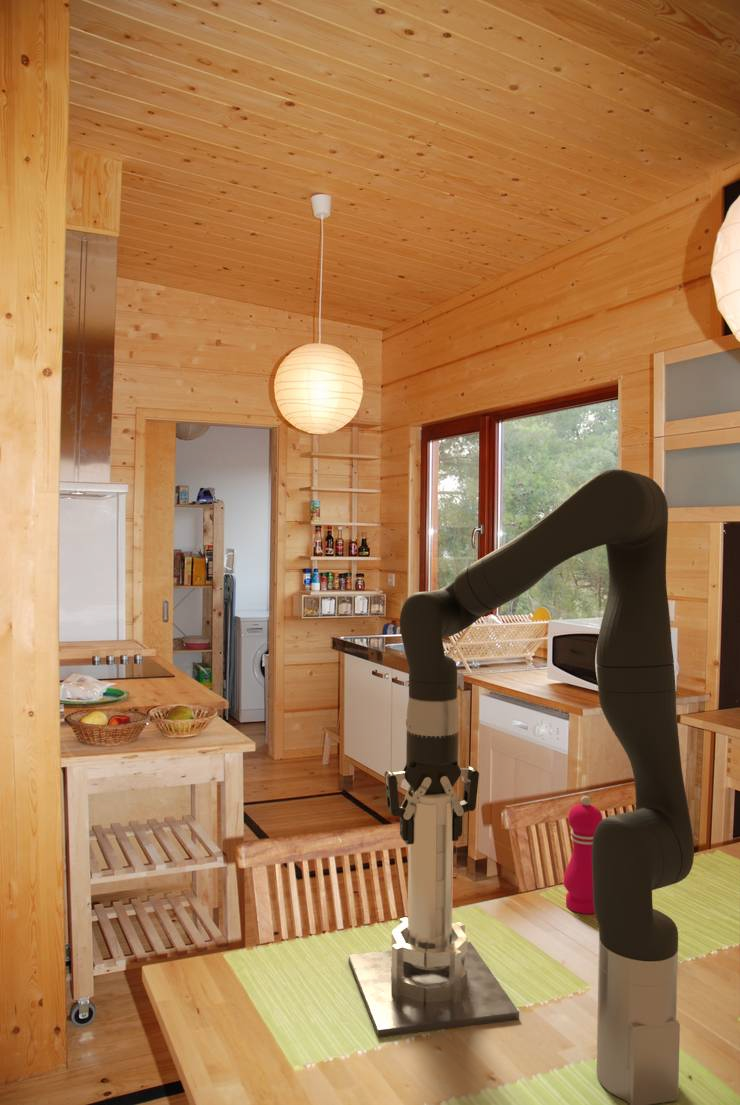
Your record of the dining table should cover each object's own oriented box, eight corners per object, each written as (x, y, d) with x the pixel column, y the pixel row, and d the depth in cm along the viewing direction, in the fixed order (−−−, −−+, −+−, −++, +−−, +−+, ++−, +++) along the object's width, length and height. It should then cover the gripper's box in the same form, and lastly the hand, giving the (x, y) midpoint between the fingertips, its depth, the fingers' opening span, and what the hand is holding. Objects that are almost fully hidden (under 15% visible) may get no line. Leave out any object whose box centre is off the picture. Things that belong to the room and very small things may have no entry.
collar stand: (519, 1019, 117) (519, 962, 117) (378, 1037, 112) (378, 978, 112) (470, 948, 136) (470, 899, 136) (348, 961, 132) (349, 910, 132)
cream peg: (451, 949, 127) (453, 784, 126) (451, 972, 121) (453, 798, 120) (408, 946, 128) (410, 783, 127) (406, 969, 121) (407, 797, 120)
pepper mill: (555, 900, 154) (557, 791, 153) (590, 895, 156) (592, 788, 155) (576, 918, 147) (578, 804, 146) (612, 912, 149) (615, 800, 149)
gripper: (390, 736, 118) (389, 854, 118) (488, 731, 121) (486, 846, 122) (378, 723, 125) (377, 835, 126) (470, 719, 128) (469, 828, 129)
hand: (431, 840), depth 124 cm, fingers closed on cream peg, 6 cm apart
